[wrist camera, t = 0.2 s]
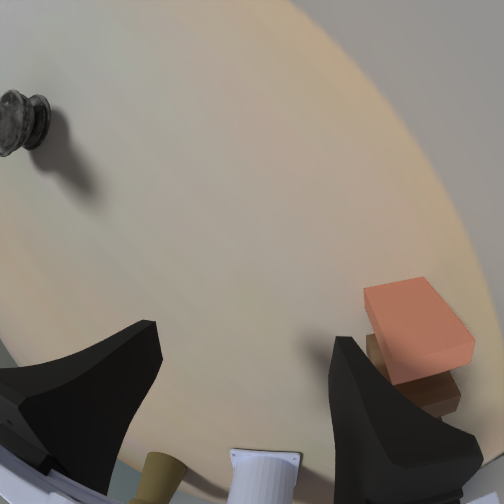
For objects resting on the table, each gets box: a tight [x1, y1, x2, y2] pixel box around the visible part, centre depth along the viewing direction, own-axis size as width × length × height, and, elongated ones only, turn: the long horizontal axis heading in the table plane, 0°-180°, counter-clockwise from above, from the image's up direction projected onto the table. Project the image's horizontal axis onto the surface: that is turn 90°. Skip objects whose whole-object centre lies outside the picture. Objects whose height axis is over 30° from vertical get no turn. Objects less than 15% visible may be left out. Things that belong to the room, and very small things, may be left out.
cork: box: [128, 452, 187, 504], centre depth 27 cm, size 6×6×11 cm
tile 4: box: [366, 334, 461, 418], centre depth 17 cm, size 2×5×8 cm, turn 103°
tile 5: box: [364, 277, 476, 385], centre depth 16 cm, size 2×5×8 cm, turn 103°
